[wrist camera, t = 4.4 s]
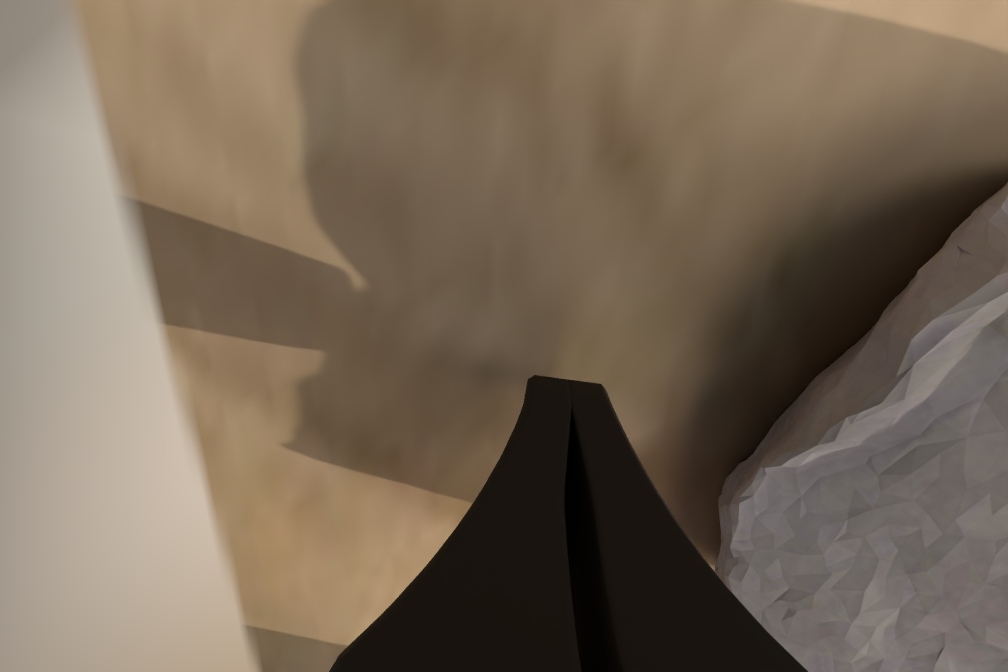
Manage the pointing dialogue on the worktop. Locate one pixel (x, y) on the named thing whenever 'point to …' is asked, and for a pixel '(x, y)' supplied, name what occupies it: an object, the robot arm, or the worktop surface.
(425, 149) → the worktop surface
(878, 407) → the grey rock
